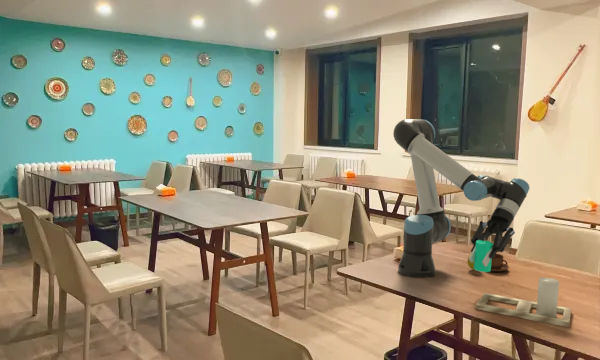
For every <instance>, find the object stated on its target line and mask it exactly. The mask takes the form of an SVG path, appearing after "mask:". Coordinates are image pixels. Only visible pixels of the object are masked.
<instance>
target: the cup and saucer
mask: <svg viewBox="0 0 600 360" xmlns="http://www.w3.org/2000/svg"><path fill="white" fill-rule="evenodd" d="M509 268H510V267H509V265H508V261H507V260H505V259H504V255H502V254H499V253H496V254H495V256H494V258H493V259H492V261H491V271H490V272H505V271H507V270H509Z"/></svg>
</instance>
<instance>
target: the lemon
mask: <svg viewBox="0 0 600 360" xmlns="http://www.w3.org/2000/svg"><path fill="white" fill-rule="evenodd" d="M470 255H471V253H470V254H469V255H468V257H467V266H468V267H469V269H472V271H476V270H475V269H474V262H473V263H471V262H470V260H469V257H470Z"/></svg>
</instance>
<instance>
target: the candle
mask: <svg viewBox="0 0 600 360" xmlns="http://www.w3.org/2000/svg"><path fill="white" fill-rule="evenodd" d="M493 244H494V242H490V241H489V240H484V241H482V240H477V241H476V248H475V260H474V269H475V270H474V271H478V272H481V273H489V272H492V271H491V261H492V259H490V261H489V263H488V265H487V267H485V266H484V265H483V263H482V261H483V260H484V258H485V256H486V254H487V252H489V251H490V249H491V248H492V247H493ZM492 249H493V248H492Z"/></svg>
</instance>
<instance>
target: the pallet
mask: <svg viewBox="0 0 600 360" xmlns="http://www.w3.org/2000/svg"><path fill="white" fill-rule="evenodd" d="M489 300H490V301H494V302H495V301H496V302H502V303H506V304H513V305H516V307H515V309H510V308H506V307H500V306H496V305H489V304H487V303H489ZM532 308H534V309H537V301H532V300H526V299H520V298H516V297H510V296H504V295H499V294H493V293H488V292H483V294H482V296H481V297H480V299H479V301H478V302H477V303H476V306H475V309H476V310H479V311H484V312H490V313H494V314H500V315H504V316H509V317H515V318H520V319H525V320H530V321H535V322H539V323H543V324H544V323H545V324H549V325H554V326H555V325H556V326H561V327H564V328H565V327H566V328H569V327H570V321H571V315H572V308H570V307H566V306H559V305H557V313H560V314H562V318H558V317H556V318H553V317H548V316H543V315H537V314H536V313H532V312H531V310H532Z"/></svg>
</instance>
